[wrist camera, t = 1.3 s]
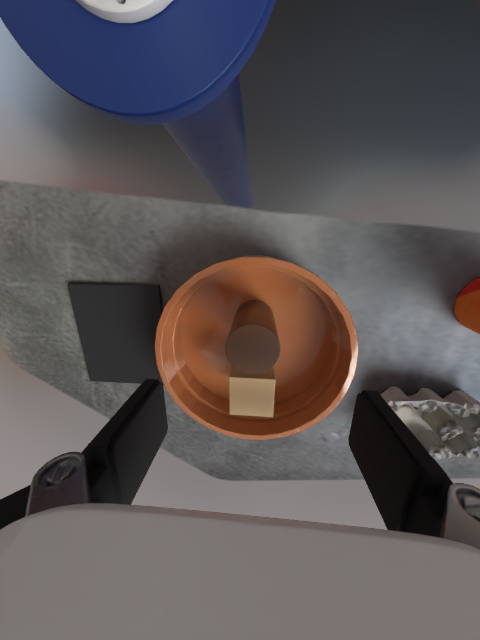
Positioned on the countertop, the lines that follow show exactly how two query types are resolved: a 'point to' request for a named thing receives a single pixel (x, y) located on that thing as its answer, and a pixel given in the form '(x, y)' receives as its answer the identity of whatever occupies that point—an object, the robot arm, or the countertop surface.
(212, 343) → the pan
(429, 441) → the egg carton
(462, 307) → the paper cup
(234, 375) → the birch block
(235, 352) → the walnut cylinder
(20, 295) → the countertop surface
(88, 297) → the mat
